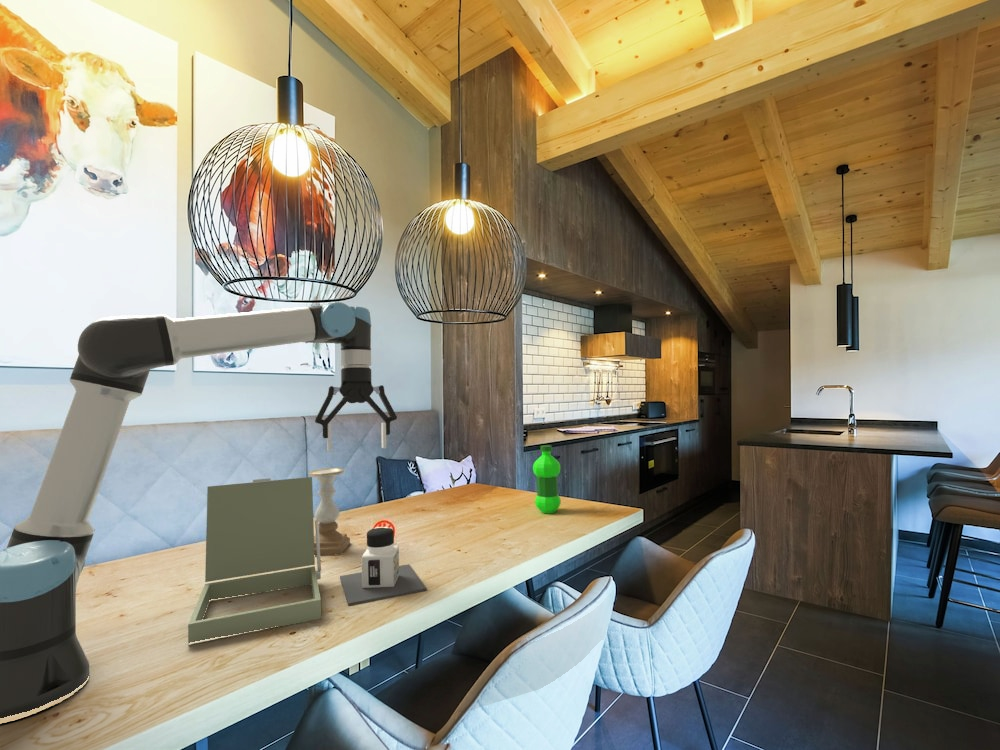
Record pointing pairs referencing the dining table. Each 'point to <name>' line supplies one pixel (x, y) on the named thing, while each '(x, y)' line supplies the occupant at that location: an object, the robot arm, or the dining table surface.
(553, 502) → the plastic bottle
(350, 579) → the mat
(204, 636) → the case
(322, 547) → the candle holder
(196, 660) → the dining table surface
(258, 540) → the lid
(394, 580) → the container
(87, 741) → the dining table surface
